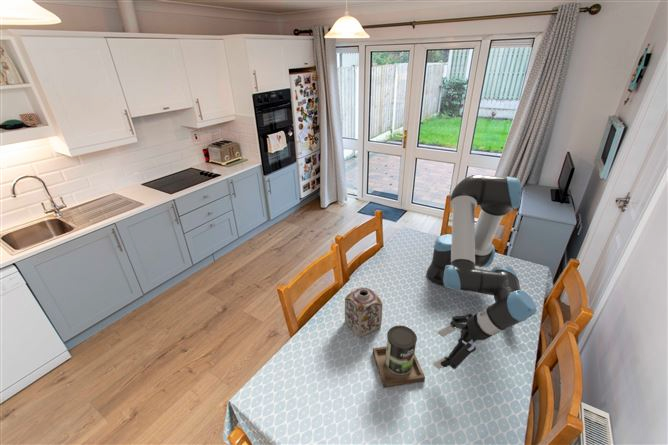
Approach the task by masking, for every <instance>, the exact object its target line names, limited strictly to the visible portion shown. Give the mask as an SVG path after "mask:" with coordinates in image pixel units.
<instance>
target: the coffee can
mask: <svg viewBox="0 0 668 445" xmlns="http://www.w3.org/2000/svg"><path fill="white" fill-rule="evenodd" d="M386 335H387V336H386V338H387V340H386V346H387V348H386V359H385V364H386V366H387V368H388V369H389V370H390V371H391V372H392V373H394V374H397V375H405V374H408V373H409V372H410V371H411V370H412V367H413V359H414V353H415V352H416V345H417V342H418V338H417V334H416V333H415V331H414V330H413V329H411V328H410V327H408V326H406V325H401V324H400V325H399V324H398V325H393V326H391V327H390V328H389V329H388V331H387V334H386ZM415 354H416V353H415Z"/></svg>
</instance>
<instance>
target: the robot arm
mask: <svg viewBox="0 0 668 445" xmlns="http://www.w3.org/2000/svg"><path fill="white" fill-rule="evenodd" d="M520 180H521V179H519V178H517V177H510V176H508V175H507V176H499V175H498V176H497V175H483V174H482V175H481V174H474V175H470V176H468V177H467V176H466V177H464V179H462V180H461V181H459V183H458V184H456V185H455V187H454V188H453V190H452V191H451V195H450V197H449V198H450V199H449V206H450V209H452V217H451V218H452V223H451V233H449V234H448V233H446V234H442V235H440V236H438V237H437V238H436V239H435V241H434V245H433V254H432V259H431V263H430V264H429V266H428V268H427V270H426V277H427V279H428V280H429V281H430V282H432V283H434V284H436V285H439V286H442V287H443V286H444V287H445V288H447V289H452V290H456V291H462V292H463V291H464V292H472V293H478V294H483V295H489V296H493V298H494V301H495V302H494V303H492V304H490V305H488V306H487V307H486V308H484V309H482V310H480V311H479V312H478V313H475V314H472V313H471V312H470V313H467V314H463V315H454V316H452V317H451V319H452V320H451V321H450V323H448V324H446V325H445V326H444V327H442V328H440V329H438V330H437V332H436V333H437V334H438V335H439V336H441V337H442V338H444V337H446V336H448V335H450V334H451V333H453V332H455V331H456V329H457V330H458V329H459V330H460V337H459V338H458V340H457V344H456V345H455V346H454V348H453V349H452V351H451V352H450V354H449V355H445V356H443V357H441V358H439V359H437V360H435V361H433V362H432V366H434V367H435V368H436V369H438V370H440V369H442V368H448V367H450V368H452V369H453V370H456V369H457V368H458V366H460V364H462V363H463V362H464V360H465V359H467V358H468V357H469V355H471V354H472V353H474V352H475V351H476V350H477V348H476V347H475V345H474V343H475V342H476V341H485V340H488V339H489V338H491V337H493V336H496V335H498V334H500V333H502V332H503V331H505V330H506V329H509V328H511V327H513V326H516V325H517V324H519V323H522V322H524V321H526V320H527V319H530V318H531V317H532V316H534V315H535V314H536V313H537V305H536V303H535V302H534V299H533V298H532V297H531V296H530V295H529V294H528V293H527V292H525V291H524V290H521V285H520V281H519V280H520V279H519V278H518V275H517V273H516V271H515V270H514V268H512V267H510V266H508V265H499V266H495V267H493V268H492V269H491V270H489V269H487V270H486V269H479V268H489V267H490V266H491V265H492V264H493V261H494V257H495V254H496V250H495V248H496V247H495V245H494V244H493V243H492V242H493V241H494V238H495V235H496V233H497V231H498V228H499V226H500V224H501V222H502V219H503V218H504V216H506V215H507V214H509V213H510V212H511V210H512V209H513V210H514V209H518V208H520V205H521V201H522V200H521V199H522V184H521V181H520ZM478 206H479V208H480V212H479V215H478V218H477V220H476V222H475V209H476V208H477V207H478ZM476 267H478V268H476Z"/></svg>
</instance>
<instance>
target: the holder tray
mask: <svg viewBox="0 0 668 445" xmlns="http://www.w3.org/2000/svg"><path fill="white" fill-rule="evenodd" d="M386 348H387V345H386V346H380V347H379V346H378V347H373V348H372V354H373V358H374V361H375V364H376V368H377V372H378V374H379V377H380V381H381V385H382V388H383V389H386V388H392V387H398V386H404V385H411V384H417V383H424V382H425V380H426V375H425V374H424V371H423V369H422V367H421V364H420V362H419V360H418V358H417V356H416V353H414V359H413V367H412V370H411V371H410V372H409V373H408V374H405V375H397V374H394V373H392V372H391V371H390V370H389V369H388V368H387V366H386V364H385V359H386Z"/></svg>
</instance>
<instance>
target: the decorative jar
mask: <svg viewBox="0 0 668 445" xmlns="http://www.w3.org/2000/svg"><path fill="white" fill-rule="evenodd" d="M382 318H383V302H382V300H381V299H380V297H379V296H378V294H377V293H376V292H375V291H374V290H373V289H372V288H368V287H361V286H359V287H357V288H355V289H351V291H350V292H349V293H348V294H347V295H346V296H345V298H344V321H345V323H346V324H347V325H348V326H349V328H350V329H351V330H352V331H353V332H354V333H355V335H356V336H357V337H358V338H362V337H364V336H366V335H368V334H370V333H372V332H374V331H375V330H378V329H381V327H382V323H383V322H382V321H383V319H382Z"/></svg>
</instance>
